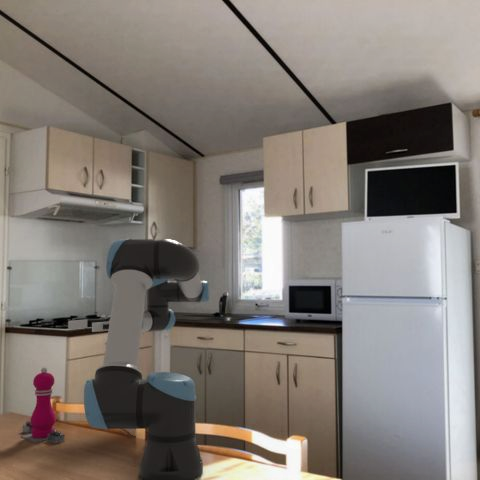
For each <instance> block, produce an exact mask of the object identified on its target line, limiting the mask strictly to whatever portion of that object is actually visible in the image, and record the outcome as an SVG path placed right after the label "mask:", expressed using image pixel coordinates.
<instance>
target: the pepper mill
mask: <svg viewBox="0 0 480 480" xmlns="http://www.w3.org/2000/svg"><path fill="white" fill-rule="evenodd" d="M32 381H33V387H35V388H34V389H35V390H34V395H35V396H36V402H35V407H34V410H33V412H32V413H31V417H30V424H31V425H32V427H33V428H34V429H33V430H32V437H33V438H47V437H48V434H50V433H51V431H52V430H55V427H53V426H54V425H55V423H56V422H57V418H56V413H55V410H54V408H53V406H52V403H51V401H52V400H51V397H52V394H53V388H52V387H53V386H54V385H55V377H54V375H53V374H52V373H50V372H48V368H47V367H44V366H43V367H42V368H41V369H40V373H37V374H36V375H35V376H34V377H33V380H32Z"/></svg>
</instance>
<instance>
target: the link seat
mask: <svg viewBox="0 0 480 480" xmlns="http://www.w3.org/2000/svg"><path fill="white" fill-rule="evenodd" d="M20 437H21V438H22V439H25V440H27V441H30V442H33V443H36V444H37V443H40V442H41V443H42V442H45V441H48V437H47V438H33V437H32V434H27V433H26V434H23V435H21V436H20Z"/></svg>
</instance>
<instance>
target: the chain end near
mask: <svg viewBox="0 0 480 480" xmlns="http://www.w3.org/2000/svg"><path fill="white" fill-rule="evenodd" d="M47 442H49V443H51V444H54V445H55V444H60V443H64V442H65V434H64V433H62V432H61V431H59V430H57V429H54V430H52V431H51V433H50V434H48V440H47Z"/></svg>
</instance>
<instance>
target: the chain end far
mask: <svg viewBox="0 0 480 480" xmlns="http://www.w3.org/2000/svg"><path fill="white" fill-rule="evenodd" d="M30 421H31V420H30ZM30 421H26V423H25V424H22V432H23V433H25V434H26V435H27V434H32V430H33V429H34V428H33V427H32V425H31V424H30Z"/></svg>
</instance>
